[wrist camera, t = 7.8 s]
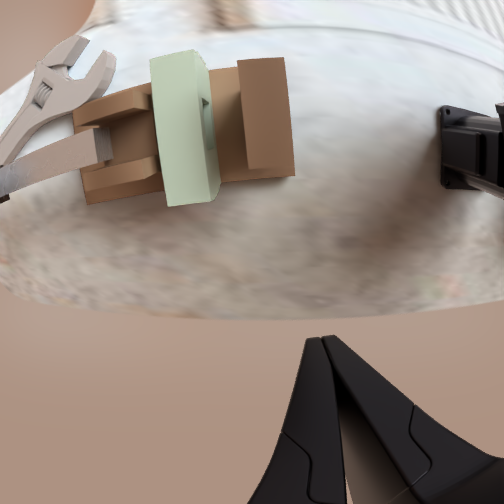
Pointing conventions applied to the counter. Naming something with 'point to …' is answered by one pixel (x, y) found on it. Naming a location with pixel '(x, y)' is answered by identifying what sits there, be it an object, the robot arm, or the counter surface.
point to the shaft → (56, 160)
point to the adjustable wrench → (55, 93)
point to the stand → (225, 122)
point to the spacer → (185, 128)
